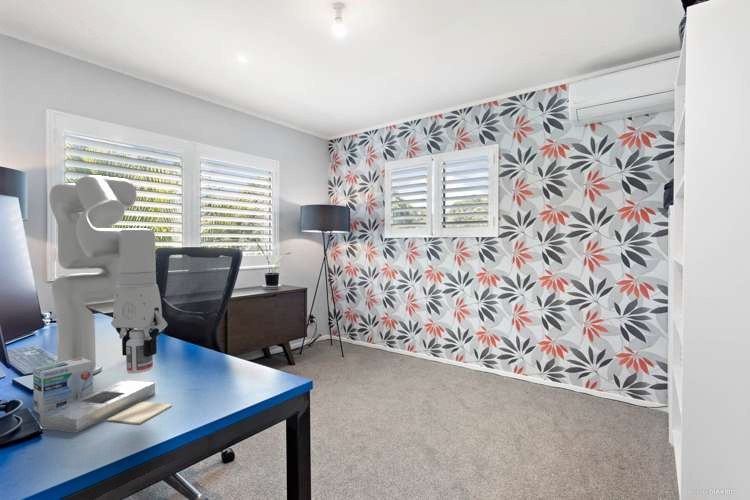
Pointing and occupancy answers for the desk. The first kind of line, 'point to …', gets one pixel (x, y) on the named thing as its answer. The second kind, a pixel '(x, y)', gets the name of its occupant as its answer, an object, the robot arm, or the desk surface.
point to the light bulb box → (61, 383)
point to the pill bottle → (137, 353)
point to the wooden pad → (139, 413)
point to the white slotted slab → (96, 406)
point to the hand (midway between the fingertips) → (139, 353)
